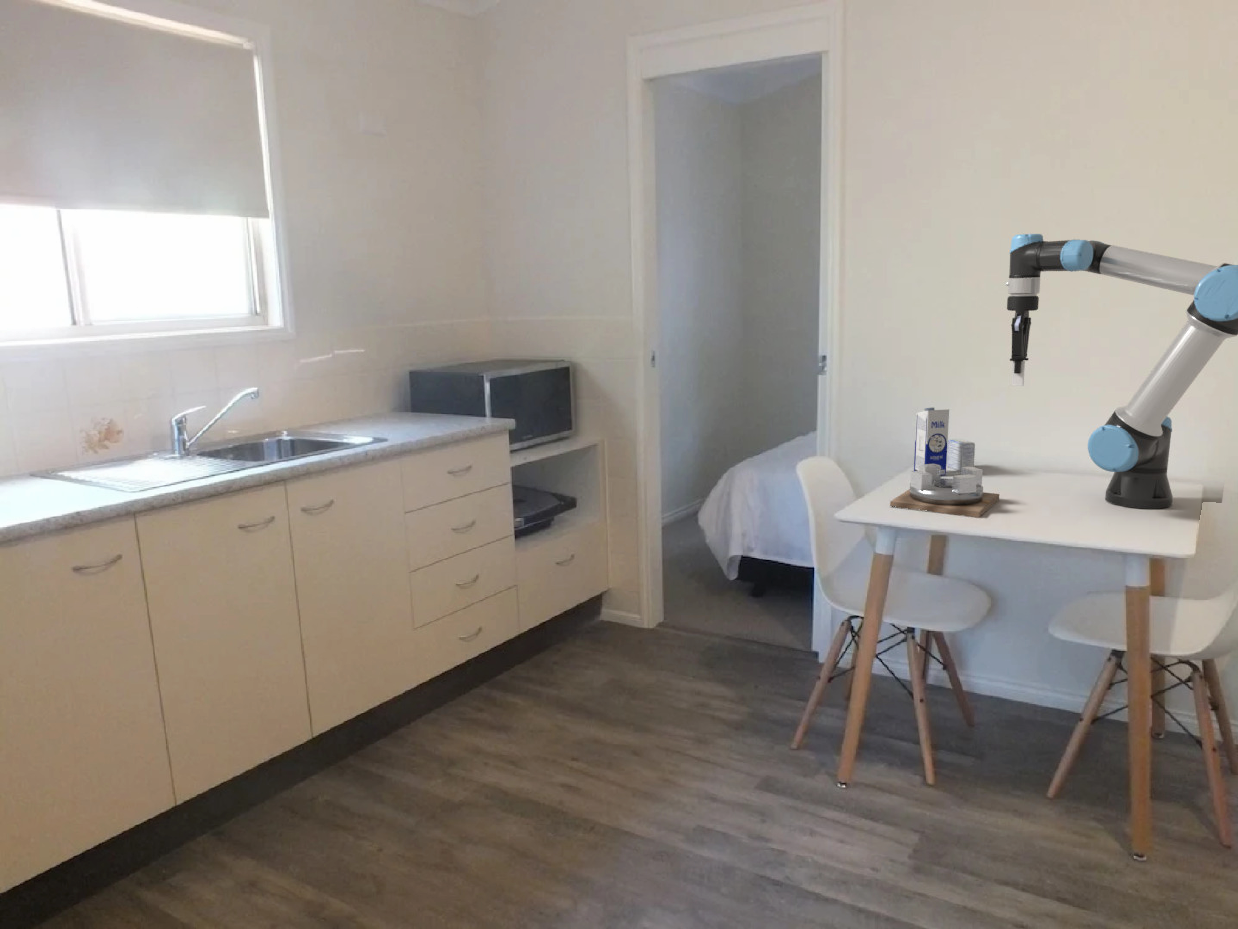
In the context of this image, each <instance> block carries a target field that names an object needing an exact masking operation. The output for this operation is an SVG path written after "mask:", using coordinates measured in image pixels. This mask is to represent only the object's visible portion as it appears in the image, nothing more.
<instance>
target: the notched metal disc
mask: <svg viewBox="0 0 1238 929" xmlns="http://www.w3.org/2000/svg"><path fill="white" fill-rule="evenodd" d="M983 474H984V473H983V469H982V468H977V467H975V466H974V467H971V466H970V467H961V471H960V475H959V474H958V475H953V476H952V478H941V477H942V476H941V466H940V465H937V464H924V465H919V471H914V470H913V471H912V470H911V472H910V483H909V489H910V497H911V498H913V499H915V500H918V501H921V502H926V503H932V504H941V505H968V504H975V503H978V502H981V501H982V499H983V492H984V486H983Z"/></svg>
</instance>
